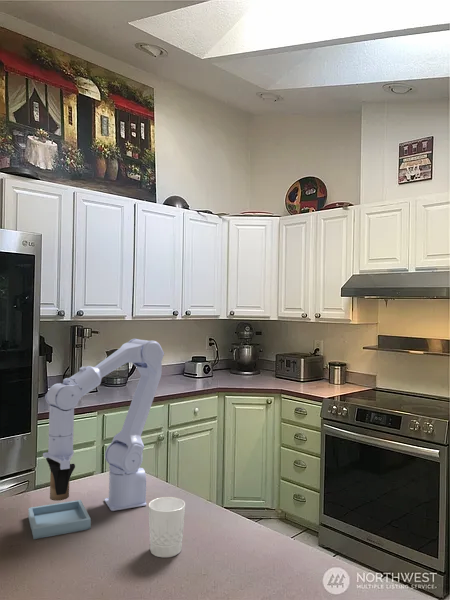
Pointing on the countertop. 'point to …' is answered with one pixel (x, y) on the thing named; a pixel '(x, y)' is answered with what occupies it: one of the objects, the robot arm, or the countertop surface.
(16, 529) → the countertop surface
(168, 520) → the white cup
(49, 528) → the light blue square tray
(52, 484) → the tan rounded cylinder
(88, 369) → the robot arm
